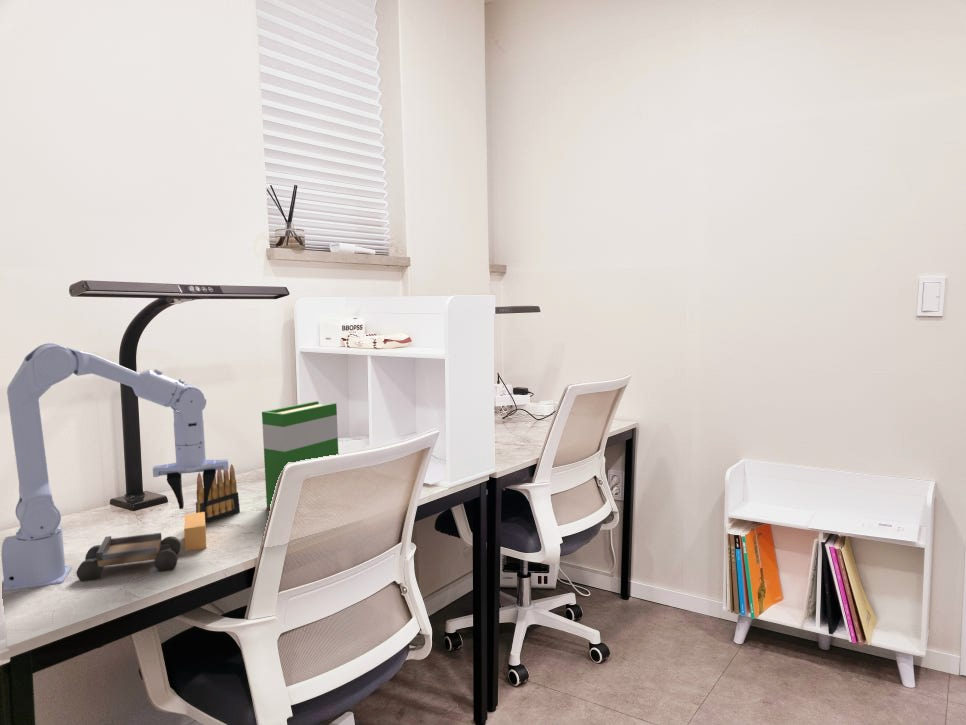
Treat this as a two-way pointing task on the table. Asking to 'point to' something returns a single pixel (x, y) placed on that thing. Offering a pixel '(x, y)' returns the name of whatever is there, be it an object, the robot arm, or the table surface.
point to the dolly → (130, 554)
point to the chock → (195, 531)
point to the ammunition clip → (219, 497)
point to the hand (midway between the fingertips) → (193, 506)
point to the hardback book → (297, 437)
